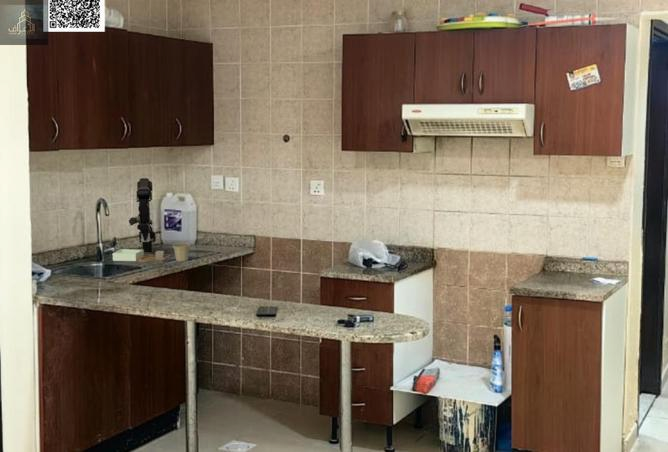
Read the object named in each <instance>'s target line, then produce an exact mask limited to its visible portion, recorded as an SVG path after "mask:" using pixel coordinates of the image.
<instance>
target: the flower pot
mask: <svg viewBox="0 0 668 452" xmlns="http://www.w3.org/2000/svg"><path fill="white" fill-rule="evenodd" d="M190 246H191V244H190V243H178V244H177V243H176V244H173V245H172V247H173V250H174V255H175V261H177V262H184V261H188V260H189V250H190Z"/></svg>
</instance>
